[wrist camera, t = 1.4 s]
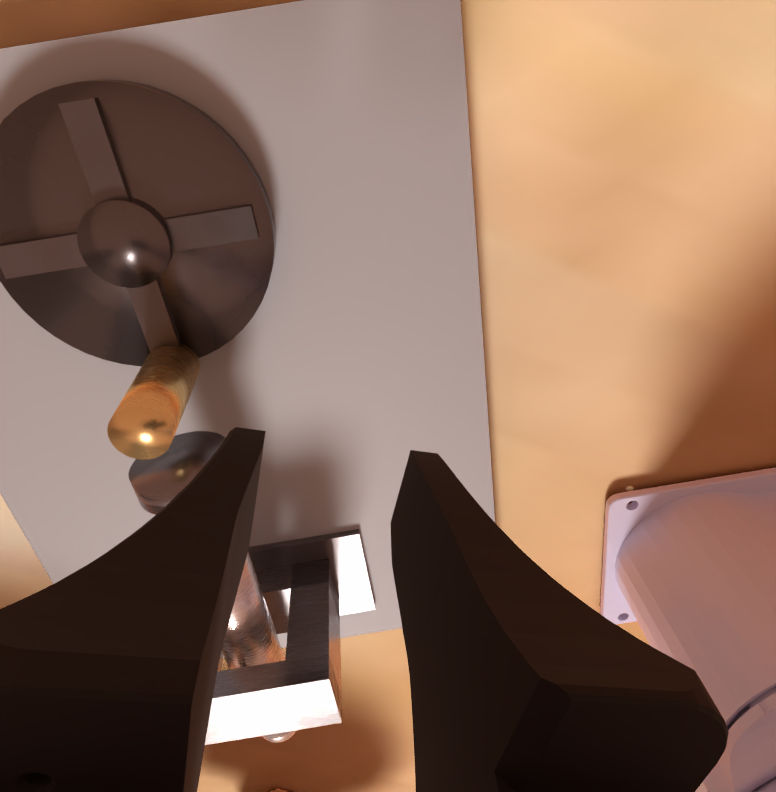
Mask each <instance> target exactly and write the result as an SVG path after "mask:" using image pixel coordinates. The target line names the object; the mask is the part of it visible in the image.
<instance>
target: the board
mask: <svg viewBox="0 0 776 792" xmlns="http://www.w3.org/2000/svg"><path fill="white" fill-rule="evenodd" d="M103 79H109V80H126V81H131V82H136V83H141V84H146V85H150V86H153V87H155V88H158V89H161V90H164V91H167V92H169V93H172V94H174V95H176V96H178V97H180V98H182V99H184V100H186V101H188V102H189V103H191V104H192V105H194V106H196V107H197V108H199V109H200V110H202V111H203V112H205V113H206V114H207V115H209V116H210V117H211V118H212V119H214V120H215V121H216V122H217V123H218V124H220V125H221V126H222V127H223V128H224V129H225V130H226V131H227V132H228V133H229V134H230V135H231V136H232V137H233V138H234V140H235V141H236V142H237V143H238V144H239V146H240V147H241V148H242V150H243V151H244V152H245V153H246V155H247V156H248V157H249V159H250V161H251V162H252V164H253V166H254V168H255V169H256V171H257V173H258V174H259V176H260V179H261V181H262V183H263V185H264V188H265V190H266V192H267V195H268V199H269V202H270V205H271V209H272V213H273V219H274V225H275V243H276V247H275V257H274V264H273V268H272V273H271V277H270V281H269V284H268V288H267V290H266V293H265V295H264V298H263V300H262V303H261V304H260V306H259V308H258V310H257V311H256V313H255V315H254V316H253V318H252V319H251V320H250V321H249V323H248V324H247V325H246V326H245V328H244V329H243V330H242V331H241V332H240V333H239V334H237V335H236V336H235V337H234V338H233V339H232V340H231V341H229V342H228V343H226V344H225V345H224V346H222V347H221V348H219V349H217V350H215V351H214V352H212V353H210V354H208V355H206V356H203V357H201V358H198V359H199V362H200V372H199V375H198V378H197V380H196V383H195V385H194V388H193V390H192V393H191V395H190V398H189V400H188V403H187V405H186V408H185V410H184V413H183V415H182V418H181V420H180V423H179V425H178V428H177V430H176V433H175V435H179V434H183V433H187V432H194V431H210V432H215V433H218V434H220V435H222V436H224V437H225V438H226V437H227V435H228V433H229V431H231V430H232V429H234V428H235V427H239V428H247V429H254V430H262V431H266V432H265V439H264V447H263V454H262V461H261V468H260V475H259V483H258V490H257V497H256V504H255V511H254V518H253V524H252V531H251V537H250V543H249V547H252V546H258V545H264V544H270V543H276V542H282V541H288V540H294V539H301V538H307V537H313V536H319V535H325V534H331V533H337V532H343V531H350V530H356V529H359V532H360V537H361V542H362V546H363V551H364V555H365V560H366V565H367V569H368V574H369V579H370V583H371V588H372V593H373V597H374V602H375V610H370V611H364V612H358V613H352V614H346V615H340V638H344V637H350V636H357V635H363V634H369V633H375V632H381V631H387V630H393V629H399V628H402V622H401V616H400V610H399V604H398V599H397V593H396V587H395V580H394V574H393V568H392V555H391V519H392V515H393V512H394V508H395V505H396V501H397V497H398V494H399V490H400V486H401V483H402V479H403V476H404V472H405V468H406V465H407V461H408V458H409V454H410V450H415V451H423V452H430V453H438V454H439V455H440V457H441V458H442V459H443V460H444V461H445V463H446V464H447V465H448V466H449V468H450V469H451V470H452V472H453V473H454V474H455V475H456V477H457V478H458V479H459V481H460V482H461V483H462V484H463V486H464V487H465V488H466V489H467V491H468V492H469V493H470V494H471V495H472V497H473V498H474V499H475V500H476V502H477V503H478V504H479V505H480V506H481V507H482V509H483V510H484V511H485V512H486V513H487V514H488V516H489V517H490V518H491V519H492V520H493V521H494V522H495V514H494V498H493V483H492V468H491V453H490V438H489V423H488V408H487V393H486V378H485V362H484V347H483V332H482V317H481V302H480V287H479V272H478V257H477V241H476V226H475V211H474V196H473V181H472V166H471V151H470V136H469V120H468V105H467V90H466V75H465V60H464V45H463V30H462V15H461V0H302V1H295V2H289V3H283V4H277V5H270V6H264V7H258V8H252V9H245V10H239V11H233V12H227V13H220V14H214V15H208V16H202V17H195V18H189V19H183V20H177V21H170V22H164V23H158V24H152V25H145V26H139V27H133V28H127V29H120V30H114V31H108V32H102V33H95V34H89V35H83V36H77V37H70V38H64V39H58V40H52V41H45V42H39V43H33V44H27V45H20V46H14V47H8V48H2V49H0V124H1V122H2V121H3V120H4V118H5V117H7V116H8V115H9V114H10V113H11V112H12V111H13V110H14V109H15V108H17V107H18V106H19V105H20V104H22V103H24V102H25V101H27V100H28V99H30V98H32V97H33V96H35V95H37V94H39V93H42V92H44V91H46V90H49V89H51V88H54V87H57V86H62V85H66V84H70V83H74V82H81V81H91V80H103ZM141 367H142V366H133V365H125V364H120V363H116V362H111V361H107V360H104V359H101V358H98V357H95V356H92V355H89V354H87V353H84V352H82V351H80V350H78V349H76V348H74V347H72V346H70V345H68V344H66V343H65V342H63V341H61V340H60V339H58V338H56V337H55V336H53V335H52V334H51V333H49V332H48V331H46V330H45V329H44V328H42V327H41V326H40V325H38V324H37V323H36V322H35V321H34V320H33V319H32V318H31V317H30V316H29V315H28V314H26V313H25V312H24V311H23V310H22V308H21V307H20V306H19V305H18V304H17V303H16V302H15V301H14V299H13V298H12V297H11V296H10V295H9V293H8V292H7V290H6V289H5V288H4V286H3V285H2V283H1V282H0V494H1V495H2V497H3V499H4V501H5V502H6V504H7V506H8V507H9V509H10V511H11V512H12V514H13V516H14V518H15V519H16V521H17V523H18V524H19V526H20V528H21V530H22V531H23V533H24V535H25V536H26V538H27V540H28V542H29V543H30V545H31V547H32V548H33V550H34V552H35V554H36V555H37V557H38V559H39V560H40V562H41V564H42V566H43V567H44V569H45V571H46V572H47V574H48V576H49V577H50V579H51V581H52V583H53V584H55V583H56V582H58V581H60V580H62V579H63V578H65V577H67V576H69V575H70V574H72V573H74V572H76V571H77V570H79V569H81V568H83V567H84V566H86V565H88V564H89V563H91V562H92V561H94V560H96V559H97V558H99V557H100V556H102V555H103V554H105V553H106V552H108V551H109V550H110V549H112V548H113V547H115V546H116V545H118V544H119V543H120V542H122V541H123V540H125V539H126V538H127V537H129V536H130V535H131V534H133V533H134V532H135V531H137V530H138V529H139V528H140V527H142V526H143V525H144V524H145V523H147V522H148V521H149V520H150V519H151V518H153V517H154V516H155V514H152V513H149V512H147V511H145V510H144V509H143V508H142V507H141V505H140V503H139V501H138V498H137V496H136V494H135V492H134V489H133V487H132V485H131V483H130V480H129V475H128V474H129V470H130V467H131V465H132V464H133V462H134V461H135V460H136V459H134V458H131V457H128V456H126V455H124V454H122V453H121V452H119V451H118V450H117V449H116V448H115V447H114V446H113V445H112V443H111V442H110V440H109V437H108V433H107V428H108V423H109V421H110V419H111V418H112V416H113V414H114V412H115V411H116V409H117V407H118V406H119V404H120V402H121V401H122V399H123V397H124V396H125V394H126V392H127V390H128V389H129V387H130V385H131V384H132V382H133V380H134V379H135V377H136V375H137V373H138V372H139V370H140V368H141ZM175 435H174V436H175ZM277 636H278V639H279V642H280V645H281V648H283V647H286V646H287V633H281V634H277ZM223 657H224V655H223Z"/></svg>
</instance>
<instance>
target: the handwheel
mask: <svg viewBox="0 0 776 792" xmlns="http://www.w3.org/2000/svg"><path fill="white" fill-rule="evenodd" d="M275 247H276V243H275V225H274V219H273V213H272V209H271V205H270V202H269V199H268V195H267V192H266V190H265V188H264V185H263V183H262V181H261V179H260V176H259V174H258V173H257V171H256V169H255V168H254V166H253V164H252V162H251V161H250V159H249V157H248V156H247V155H246V153H245V152H244V151H243V150H242V148H241V147H240V146H239V144H238V143H237V142H236V141H235V140H234V138H233V137H232V136H231V135H230V134H229V133H228V132H227V131H226V130H225V129H224V128H223V127H222V126H221V125H220V124H218V123H217V122H216V121H215V120H214V119H212V118H211V117H210V116H209V115H207V114H206V113H205V112H203V111H202V110H200V109H199V108H197V107H196V106H194V105H192V104H191V103H189V102H188V101H186V100H184V99H182V98H180V97H178V96H176V95H174V94H172V93H169V92H167V91H164V90H161V89H158V88H155V87H153V86H150V85H146V84H141V83H136V82H131V81H126V80H109V79H103V80H91V81H81V82H74V83H70V84H66V85H62V86H57V87H54V88H51V89H49V90H46V91H44V92H42V93H39V94H37V95H35V96H33V97H32V98H30V99H28V100H27V101H25V102H24V103H22V104H20V105H19V106H18V107H17V108H15V109H14V110H13V111H12V112H11V113H10V114H9V115H8V116H7V117H5V118H4V120H3V121H2V122H1V124H0V282H1V283H2V285H3V286H4V288H5V289H6V290H7V292H8V293H9V295H10V296H11V297H12V298H13V299H14V301H15V302H16V303H17V304H18V305H19V306H20V307H21V308H22V310H23V311H24V312H25V313H26V314H28V315H29V316H30V317H31V318H32V319H33V320H34V321H35V322H36V323H37V324H38V325H40V326H41V327H42V328H44V329H45V330H46V331H48V332H49V333H51V334H52V335H53V336H55V337H56V338H58V339H60V340H61V341H63V342H65V343H66V344H68V345H70V346H72V347H74V348H76V349H78V350H80V351H82V352H84V353H87V354H89V355H92V356H95V357H98V358H101V359H104V360H107V361H111V362H116V363H120V364H125V365H133V366H142V367H141V368H140V370H139V372H138V373H137V375H136V377H135V379H134V380H133V382H132V384H131V385H130V387H129V389H128V390H127V392H126V394H125V396H124V397H123V399H122V401H121V402H120V404H119V406H118V407H117V409H116V411H115V412H114V414H113V416H112V418H111V419H110V421H109V423H108V428H107V433H108V437H109V440H110V442H111V443H112V445H113V446H114V447H115V448H116V449H117V450H118V451H119V452H121V453H122V454H124V455H126V456H128V457H131V458H134V459H140V460H148V459H154V458H157V457H159V456H161V455H162V454H164V453H165V452H166V451H167V450H168V449H169V447H170V445H171V443H172V440H173V438H174V435H175V433H176V430H177V428H178V425H179V423H180V420H181V418H182V415H183V413H184V410H185V408H186V405H187V403H188V400H189V398H190V395H191V393H192V390H193V388H194V385H195V383H196V380H197V378H198V375H199V372H200V362H199V359H198V358H201V357H203V356H206V355H208V354H210V353H212V352H214V351H215V350H217V349H219V348H221V347H222V346H224V345H225V344H226V343H228V342H229V341H231V340H232V339H233V338H234V337H235V336H236V335H237V334H239V333H240V332H241V331H242V330H243V329H244V328H245V326H246V325H247V324H248V323H249V321H250V320H251V319H252V318H253V316H254V315H255V313H256V311H257V310H258V308H259V306H260V304H261V303H262V300H263V298H264V295H265V293H266V290H267V288H268V284H269V281H270V277H271V273H272V268H273V264H274V257H275Z"/></svg>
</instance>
